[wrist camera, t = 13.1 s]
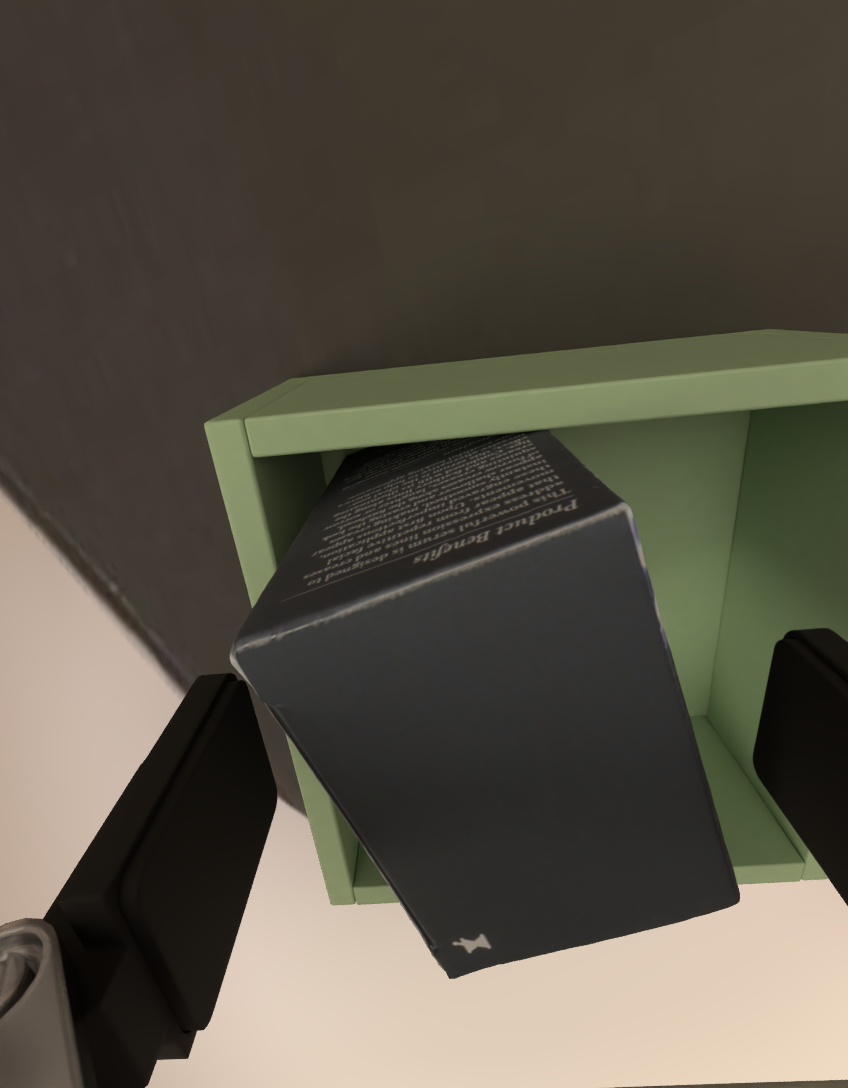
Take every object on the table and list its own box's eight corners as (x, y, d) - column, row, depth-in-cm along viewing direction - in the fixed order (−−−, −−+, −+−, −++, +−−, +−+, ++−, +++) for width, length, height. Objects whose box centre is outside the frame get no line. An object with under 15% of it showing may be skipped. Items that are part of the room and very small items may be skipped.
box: (583, 598, 18) (752, 915, 9) (433, 649, 19) (436, 987, 10) (511, 382, 16) (643, 500, 6) (337, 454, 17) (207, 659, 7)
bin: (358, 736, 22) (330, 906, 16) (289, 378, 17) (201, 422, 10) (712, 712, 22) (830, 880, 15) (770, 328, 16) (1000, 342, 9)
